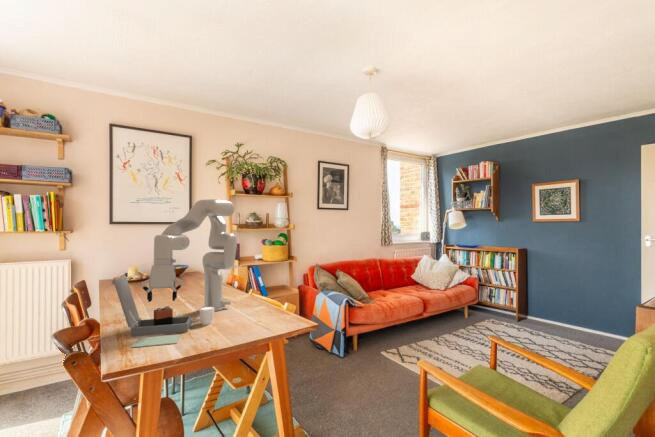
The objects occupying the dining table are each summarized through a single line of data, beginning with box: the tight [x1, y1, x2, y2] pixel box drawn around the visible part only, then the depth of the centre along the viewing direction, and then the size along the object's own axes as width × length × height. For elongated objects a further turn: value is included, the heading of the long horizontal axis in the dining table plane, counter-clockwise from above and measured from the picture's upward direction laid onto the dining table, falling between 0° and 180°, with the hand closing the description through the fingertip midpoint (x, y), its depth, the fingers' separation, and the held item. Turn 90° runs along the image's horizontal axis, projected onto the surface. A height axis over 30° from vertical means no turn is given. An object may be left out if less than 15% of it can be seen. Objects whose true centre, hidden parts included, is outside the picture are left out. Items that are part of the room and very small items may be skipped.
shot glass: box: [198, 306, 215, 326], centre depth 153 cm, size 7×7×7 cm
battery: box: [153, 305, 173, 326], centre depth 143 cm, size 4×7×10 cm, turn 134°
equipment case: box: [128, 310, 192, 337], centre depth 143 cm, size 23×12×11 cm, turn 105°
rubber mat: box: [130, 333, 182, 349], centre depth 129 cm, size 16×10×1 cm, turn 105°
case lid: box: [113, 275, 140, 329], centre depth 139 cm, size 21×12×1 cm
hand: (162, 300), depth 143 cm, fingers open, 9 cm apart
